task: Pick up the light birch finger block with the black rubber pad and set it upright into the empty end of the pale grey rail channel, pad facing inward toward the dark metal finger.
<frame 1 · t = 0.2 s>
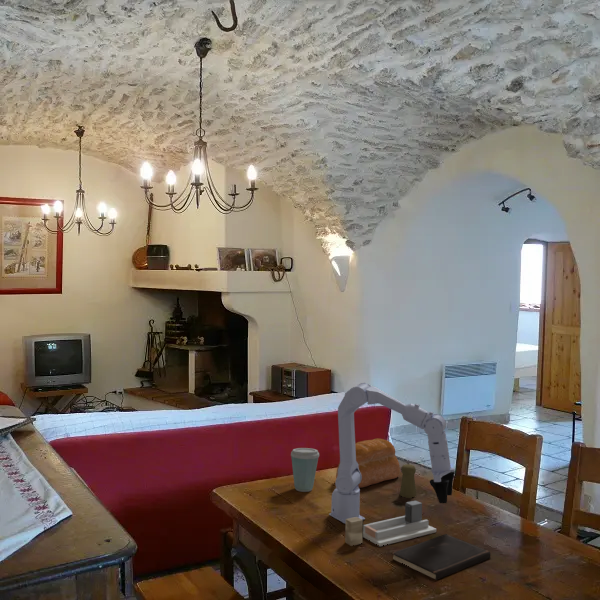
hand: (445, 498, 203), 11 cm above the table, tool pointing down, fingers open, 7 cm apart
hardcover book: (441, 561, 185), on the table
bread: (368, 480, 256), on the table
cork: (408, 495, 238), on the table
rail: (396, 532, 203), on the table
finger block: (353, 542, 195), on the table
disposable coffee cup: (304, 489, 243), on the table
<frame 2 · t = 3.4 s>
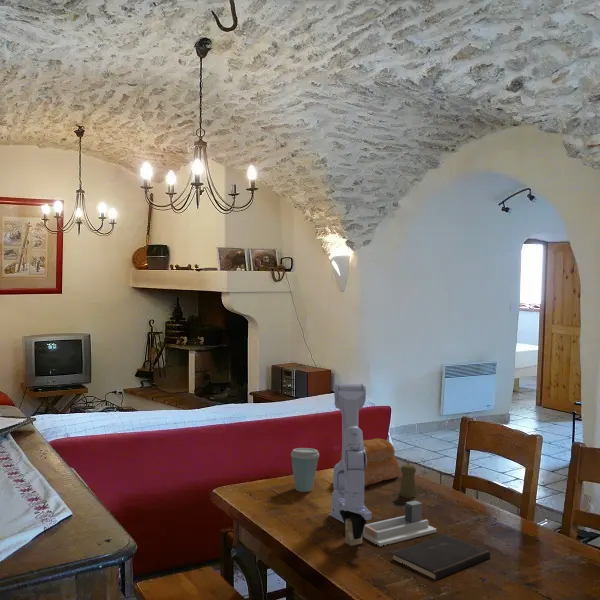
hand: (353, 536, 195), 2 cm above the table, tool pointing down, fingers closed on finger block, 3 cm apart
finger block: (353, 542, 195), on the table, touching gripper
everything else where it was.
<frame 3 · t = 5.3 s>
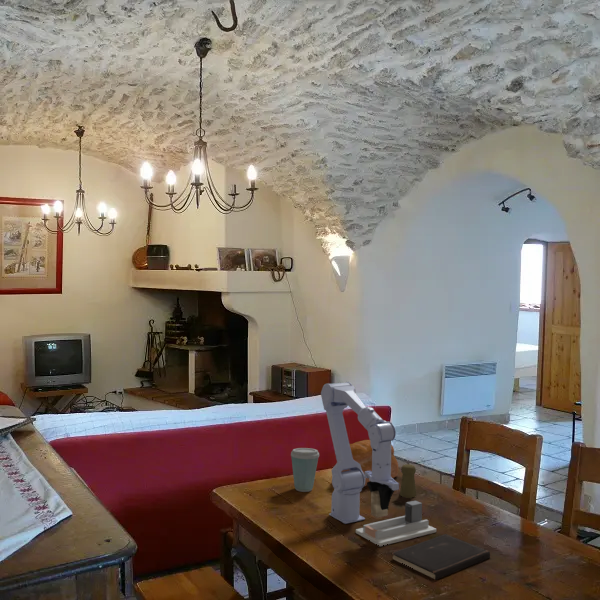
hand: (380, 507, 200), 9 cm above the table, tool pointing down, fingers closed on finger block, 3 cm apart
finger block: (379, 515, 199), point 7 cm above the table, touching gripper
everything else where it was.
when the fingers open (4 cm above the table, at t = 7.0 s): finger block drops 1 cm, resting on rail.
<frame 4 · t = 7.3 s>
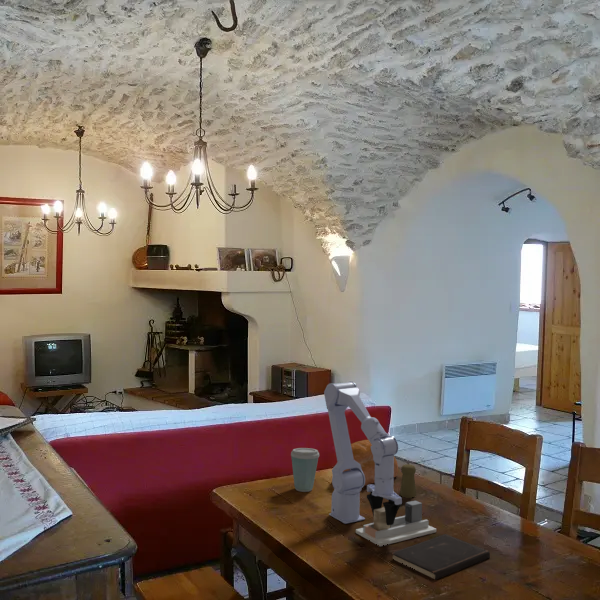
hand: (383, 521, 200), 4 cm above the table, tool pointing down, fingers open, 6 cm apart
finger block: (381, 532, 200), point 1 cm above the table, touching rail
everything else where it was.
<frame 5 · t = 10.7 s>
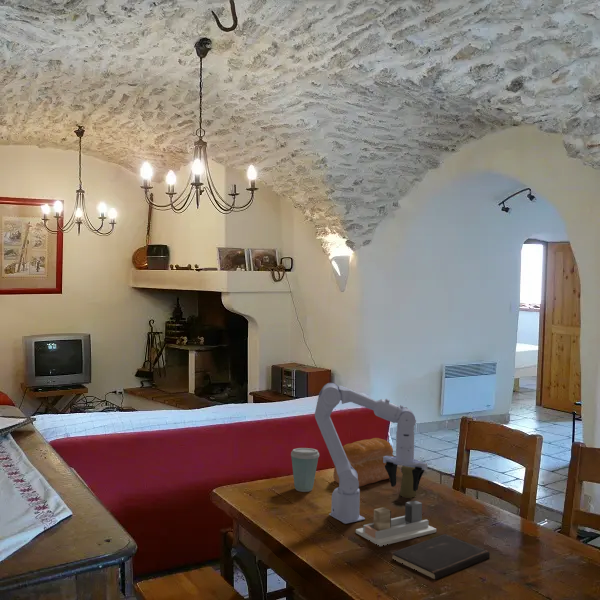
hand: (404, 488, 213), 10 cm above the table, tool pointing down, fingers open, 7 cm apart
at the end: finger block 0.8 cm from the target spot on the rail, point 1.0 cm above the rail's base; finger block tilted 0°; the gripper is holding nothing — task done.
